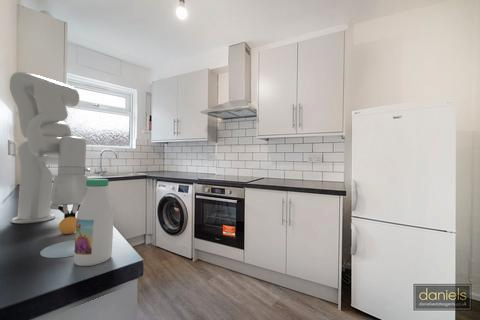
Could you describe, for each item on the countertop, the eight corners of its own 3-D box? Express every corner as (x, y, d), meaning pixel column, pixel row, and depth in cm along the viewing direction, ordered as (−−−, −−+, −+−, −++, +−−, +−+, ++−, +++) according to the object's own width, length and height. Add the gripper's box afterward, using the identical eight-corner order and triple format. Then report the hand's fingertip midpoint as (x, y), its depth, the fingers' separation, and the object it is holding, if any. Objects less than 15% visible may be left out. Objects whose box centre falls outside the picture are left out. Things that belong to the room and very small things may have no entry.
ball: (57, 233, 71) (58, 216, 71) (78, 230, 75) (79, 214, 75) (58, 237, 67) (59, 219, 67) (80, 234, 70) (81, 217, 71)
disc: (41, 245, 60) (41, 245, 60) (96, 236, 69) (96, 236, 69) (39, 262, 50) (39, 261, 50) (103, 249, 59) (103, 249, 59)
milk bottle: (107, 251, 58) (111, 177, 59) (115, 260, 53) (119, 179, 53) (71, 258, 53) (76, 178, 53) (76, 270, 47) (81, 180, 48)
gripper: (95, 171, 83) (93, 219, 82) (43, 171, 73) (40, 225, 72) (98, 172, 77) (96, 223, 77) (42, 172, 67) (39, 231, 67)
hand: (69, 224), depth 75 cm, fingers closed
